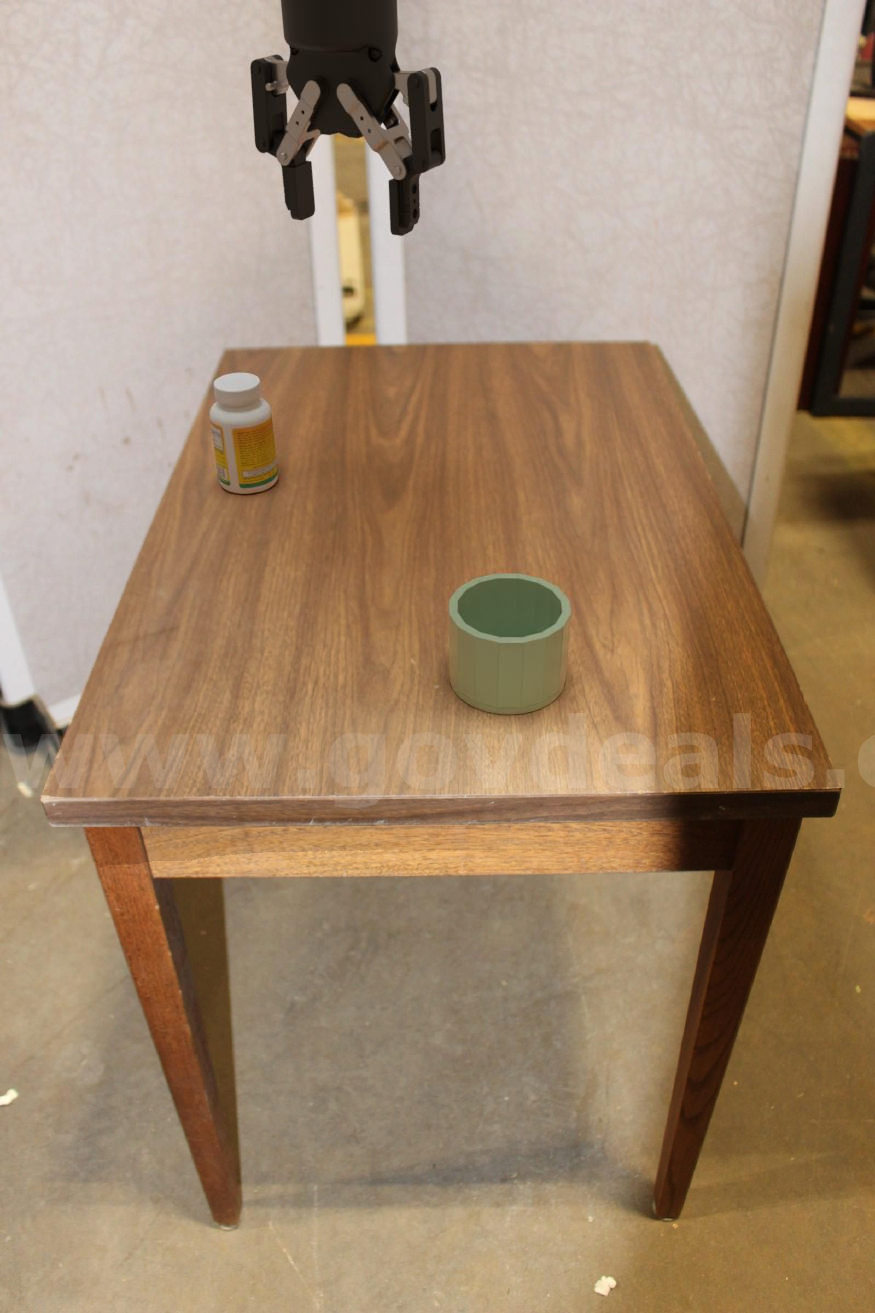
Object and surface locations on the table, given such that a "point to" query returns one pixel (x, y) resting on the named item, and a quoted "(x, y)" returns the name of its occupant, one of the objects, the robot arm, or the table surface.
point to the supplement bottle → (243, 435)
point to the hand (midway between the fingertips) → (352, 224)
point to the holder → (508, 642)
